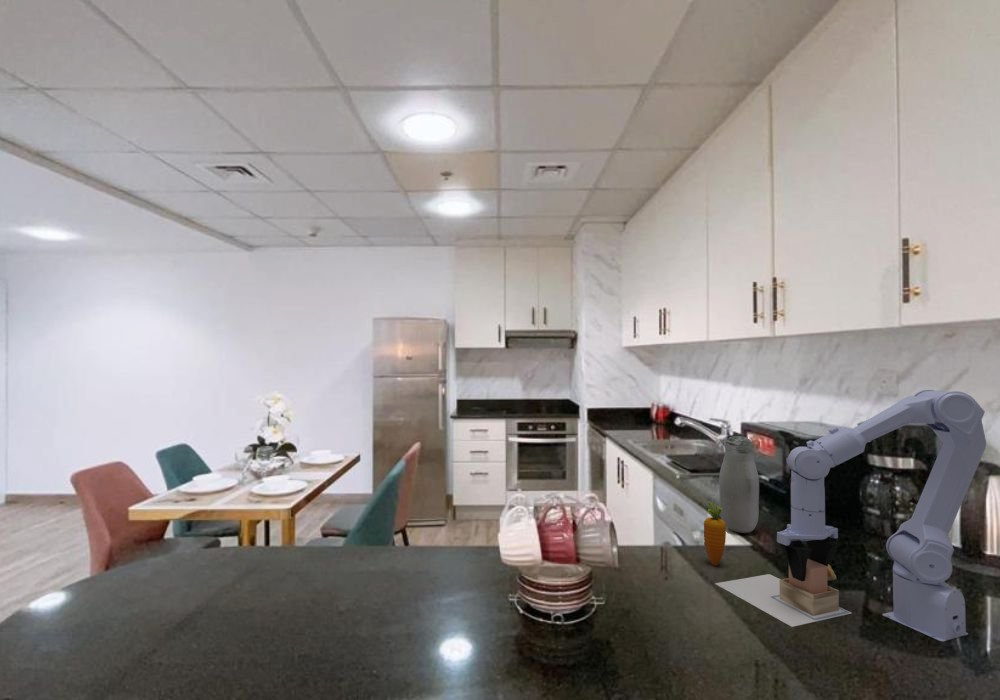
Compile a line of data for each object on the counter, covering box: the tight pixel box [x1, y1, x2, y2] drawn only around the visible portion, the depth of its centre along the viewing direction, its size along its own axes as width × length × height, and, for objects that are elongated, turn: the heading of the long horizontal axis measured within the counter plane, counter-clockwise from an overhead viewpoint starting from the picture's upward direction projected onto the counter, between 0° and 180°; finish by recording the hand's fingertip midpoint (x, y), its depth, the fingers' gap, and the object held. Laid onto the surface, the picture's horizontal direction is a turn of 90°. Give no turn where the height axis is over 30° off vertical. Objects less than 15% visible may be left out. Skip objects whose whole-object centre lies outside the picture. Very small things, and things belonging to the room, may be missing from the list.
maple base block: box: [780, 577, 840, 616], centre depth 92 cm, size 7×7×4 cm
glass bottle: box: [718, 435, 760, 534], centre depth 138 cm, size 10×10×28 cm
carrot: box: [703, 501, 727, 567], centre depth 111 cm, size 5×5×15 cm
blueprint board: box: [714, 573, 852, 628], centre depth 95 cm, size 18×16×1 cm
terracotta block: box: [788, 558, 828, 595], centre depth 93 cm, size 5×5×5 cm
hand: (808, 577), depth 93 cm, fingers open, 5 cm apart
